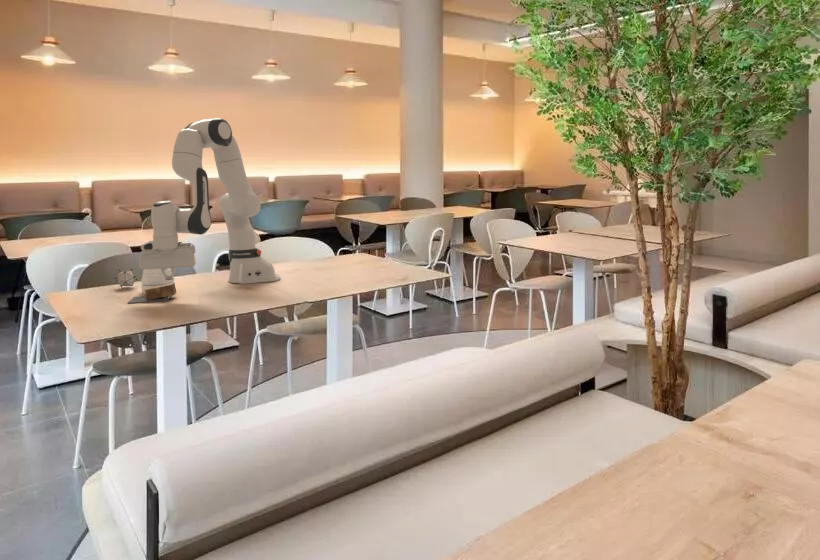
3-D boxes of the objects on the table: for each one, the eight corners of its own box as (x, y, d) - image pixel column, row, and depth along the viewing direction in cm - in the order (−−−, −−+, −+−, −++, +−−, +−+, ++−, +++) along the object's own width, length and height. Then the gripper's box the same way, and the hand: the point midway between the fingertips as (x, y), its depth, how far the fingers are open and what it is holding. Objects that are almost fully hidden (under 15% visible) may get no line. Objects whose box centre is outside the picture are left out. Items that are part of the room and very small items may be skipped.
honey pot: (143, 295, 254) (139, 250, 251) (140, 290, 266) (136, 247, 263) (177, 291, 260) (173, 247, 257) (173, 287, 271) (169, 245, 268)
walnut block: (174, 282, 248) (147, 287, 246) (171, 285, 242) (144, 289, 241) (176, 292, 249) (149, 297, 247) (174, 295, 243) (146, 300, 241)
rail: (172, 294, 253) (172, 291, 253) (167, 301, 239) (166, 298, 239) (169, 295, 252) (169, 292, 252) (163, 301, 239) (163, 298, 239)
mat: (166, 295, 251) (166, 294, 251) (161, 301, 240) (161, 300, 240) (134, 297, 249) (134, 296, 249) (127, 303, 237) (127, 302, 237)
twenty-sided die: (129, 297, 272) (126, 280, 265) (112, 289, 273) (108, 273, 266) (142, 283, 278) (140, 267, 271) (125, 276, 279) (122, 260, 272)
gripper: (195, 241, 248) (198, 276, 250) (139, 244, 243) (143, 280, 246) (193, 243, 242) (196, 279, 244) (136, 246, 237) (139, 282, 240)
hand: (169, 279), depth 245 cm, fingers closed
